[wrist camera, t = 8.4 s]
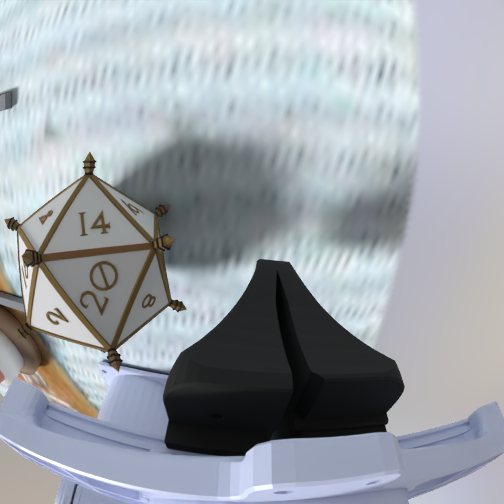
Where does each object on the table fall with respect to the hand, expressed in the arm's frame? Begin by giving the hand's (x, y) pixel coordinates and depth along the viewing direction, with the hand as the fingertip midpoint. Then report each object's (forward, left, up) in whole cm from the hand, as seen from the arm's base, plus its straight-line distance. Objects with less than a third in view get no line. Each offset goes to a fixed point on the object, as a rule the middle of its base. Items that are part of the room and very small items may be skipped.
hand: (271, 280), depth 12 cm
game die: (0, +8, -4) cm, 9 cm away
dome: (-14, +26, -2) cm, 29 cm away
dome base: (-14, +26, -3) cm, 30 cm away
